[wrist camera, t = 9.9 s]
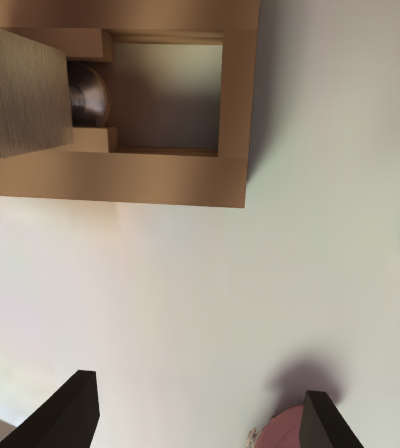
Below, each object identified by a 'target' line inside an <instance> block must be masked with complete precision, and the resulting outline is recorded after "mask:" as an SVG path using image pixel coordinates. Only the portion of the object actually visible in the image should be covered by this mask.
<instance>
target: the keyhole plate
mask: <svg viewBox="0 0 400 448" xmlns="http://www.w3.org/2000/svg"><path fill="white" fill-rule="evenodd" d="M259 7H260V0H0V29H2V30H5V31H8V32H11V33H14V34H16V35H19V36H22V37H25V38H28V39H31V40H33V41H36V42H39V43H42V44H45V45H47V46H50V47H53V48H56V49H59V50H62V51H64V52H65V53H66V61H90V62H114V51H113V43H135V44H202V45H223V53H222V75H221V98H220V120H219V142H218V149H200V148H173V147H147V146H120V145H118V127H95V126H73V136H74V143H73V144H68V145H64V146H59V147H54V148H49V149H45V150H40V151H35V152H31V153H26V154H21V155H16V156H12V157H7V158H2V159H0V196H12V197H32V198H51V199H71V200H91V201H111V202H130V203H150V204H170V205H190V206H209V207H229V208H244V207H245V193H246V180H247V167H248V154H249V140H250V127H251V114H252V100H253V87H254V74H255V60H256V47H257V34H258V20H259Z"/></svg>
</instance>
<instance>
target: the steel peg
mask: <svg viewBox="0 0 400 448" xmlns="http://www.w3.org/2000/svg"><path fill="white" fill-rule="evenodd" d="M110 111H111V98H110V93H109V90H108V87H107V85H106V83H105V81H104V80H103V78H102V77H101V76H100V75H99V74H98V73H97V72H96V71H95V70H94V69H93V68H91V67H90V66H88V65H86V64H83V63H81V62H78V61H66V53H65V52H64V51H62V50H59V49H56V48H53V47H50V46H47V45H45V44H42V43H39V42H36V41H33V40H31V39H28V38H25V37H22V36H19V35H16V34H14V33H11V32H8V31H5V30H2V29H0V159H2V158H7V157H12V156H16V155H21V154H26V153H31V152H35V151H40V150H45V149H49V148H54V147H59V146H64V145H68V144H73V143H74V136H73V126H95V127H104V126H105V124H106V123H107V121H108V118H109V115H110Z"/></svg>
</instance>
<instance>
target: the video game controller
mask: <svg viewBox="0 0 400 448" xmlns="http://www.w3.org/2000/svg"><path fill="white" fill-rule="evenodd" d="M303 408H304V405H297V406H294V407H291V408H289V409H287V410H285V411H284V412H282V413H281V414H279V415H278V416H276V417H275V418H271V419H270V421H269V423H268V425H267V426H266V427H264V428H263V430H262V431H259V432H258V433H257V434H255V431H256V428H254V429H253V430H251V431H250V433H249V435H248V437H247V447H248V446H249V444H250V442H252V448H300V442H299V431H300V425H301V419H302V413H303Z"/></svg>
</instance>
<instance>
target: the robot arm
mask: <svg viewBox="0 0 400 448" xmlns="http://www.w3.org/2000/svg"><path fill="white" fill-rule="evenodd" d="M99 417H100V412H99V402H98V391H97V381H96V371H85V370H78V371H77V372H76V373H75V374H74V375H72V376H71V377H70V378H69V379H68V380H67V381H66V382H65V383H64V384H63V385H62V386H61V387H60V388H59V389H58V390H57V391H56V392H55V393H54V394H53V395H52V396H51V397H50V398H49V399H48V400H47V401H46V402H45V403H43V404H42V405H41V406H40V407H39V408H38V409H37V410H36V411H35V412H34V413H33V414H32V415H30V416H29V417H28V418H27V419H26V420H25V421H24V422H23V423H22V424H21V425H19V426H18V427H17V428H16V429H15V430H14V431H13V432H11V433H10V434H9V435H8V436H7V437H6V438H4V439H3V440H2V441H1V442H0V448H90V445H91V442H92V439H93V436H94V433H95V430H96V427H97V423H98V420H99ZM299 442H300V448H364V447H363V445H362V444H361V443H360V441H359V440H358V439H357V437H356V436H355V434H354V433H353V431H352V430H351V429H350V427H349V426H348V424H347V423H346V421H345V420H344V418H343V417H342V415H341V414H340V412H339V411H338V409H337V408H336V406H335V405H334V403H333V402H332V400H331V399H330V397H329V396H328V394H327V393H326V392H321V391H309V390H306V396H305V402H304V408H303V413H302V419H301V425H300V431H299Z"/></svg>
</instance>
